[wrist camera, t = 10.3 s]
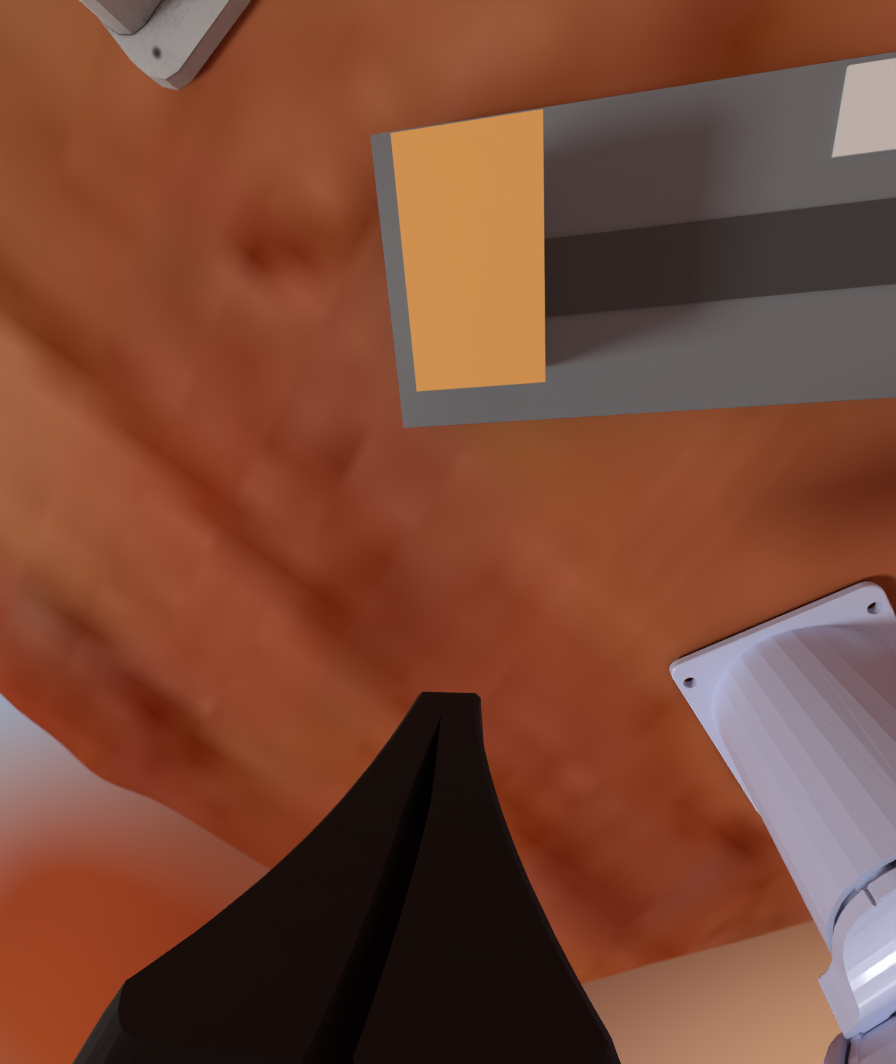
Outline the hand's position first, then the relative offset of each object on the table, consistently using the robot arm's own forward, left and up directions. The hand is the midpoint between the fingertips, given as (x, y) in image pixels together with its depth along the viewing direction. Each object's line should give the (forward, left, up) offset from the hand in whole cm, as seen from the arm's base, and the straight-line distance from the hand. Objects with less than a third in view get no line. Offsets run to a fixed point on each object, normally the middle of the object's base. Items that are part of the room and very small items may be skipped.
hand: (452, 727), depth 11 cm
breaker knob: (+8, -6, -7) cm, 12 cm away
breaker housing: (+6, -10, -9) cm, 15 cm away
